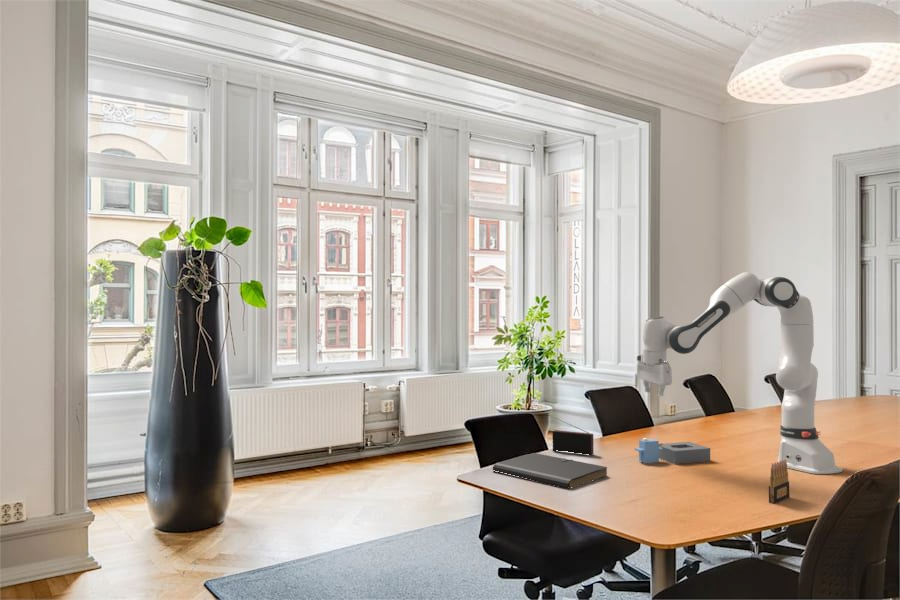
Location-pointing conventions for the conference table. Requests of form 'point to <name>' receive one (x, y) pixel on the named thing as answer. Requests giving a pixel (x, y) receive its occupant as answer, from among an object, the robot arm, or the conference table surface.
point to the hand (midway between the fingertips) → (653, 393)
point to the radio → (573, 441)
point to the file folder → (551, 470)
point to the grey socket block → (684, 452)
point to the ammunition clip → (779, 482)
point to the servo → (649, 450)
